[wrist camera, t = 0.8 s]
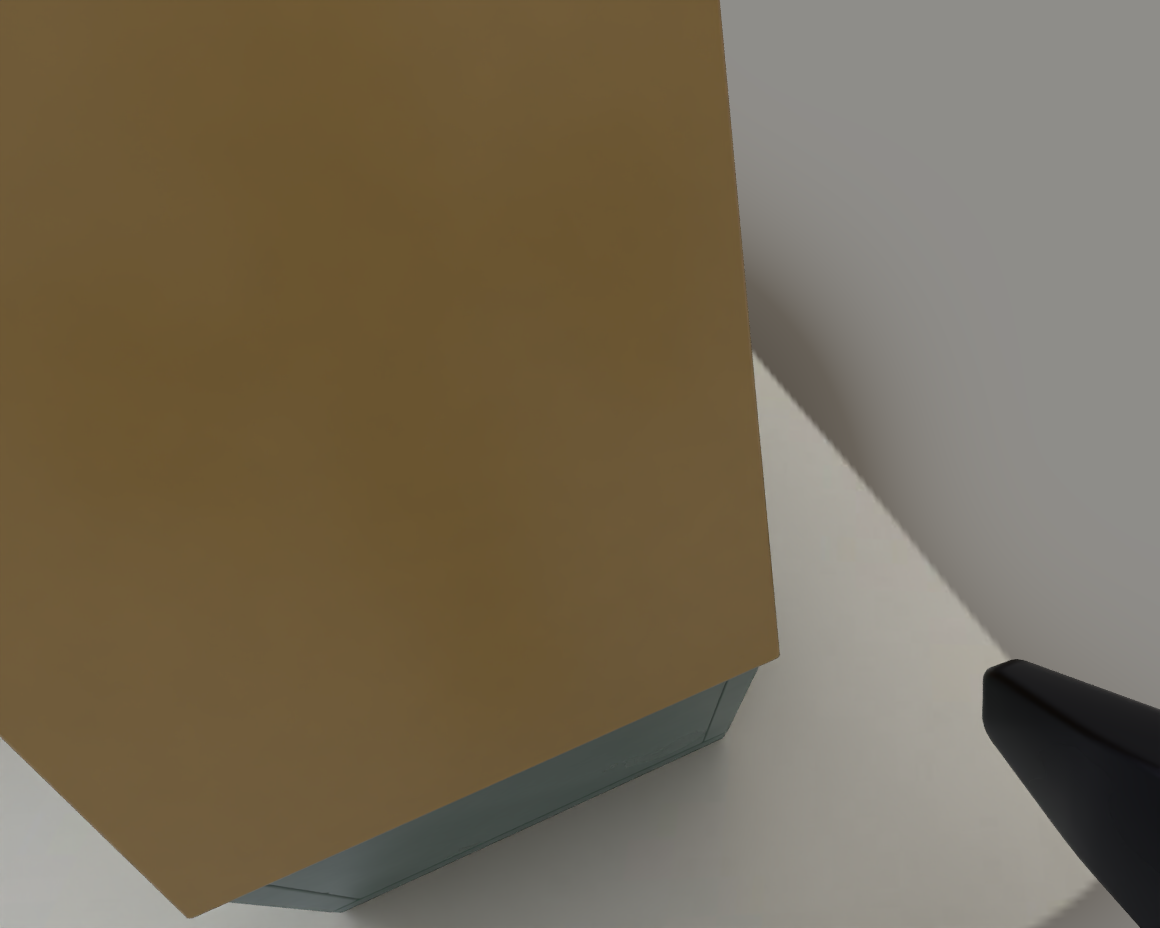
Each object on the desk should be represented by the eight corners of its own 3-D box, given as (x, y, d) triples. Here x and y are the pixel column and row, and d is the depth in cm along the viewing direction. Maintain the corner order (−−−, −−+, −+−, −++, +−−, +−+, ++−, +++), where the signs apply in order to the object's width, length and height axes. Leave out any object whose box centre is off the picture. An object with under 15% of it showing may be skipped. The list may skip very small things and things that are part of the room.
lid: (-738, -83, 6) (-871, -99, 5) (652, -348, 8) (688, -384, 7) (192, 879, 14) (188, 922, 13) (760, 631, 16) (781, 657, 15)
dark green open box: (254, 507, 27) (136, 369, 21) (555, 399, 29) (534, 240, 23) (339, 914, 20) (202, 901, 14) (724, 737, 22) (767, 651, 16)
